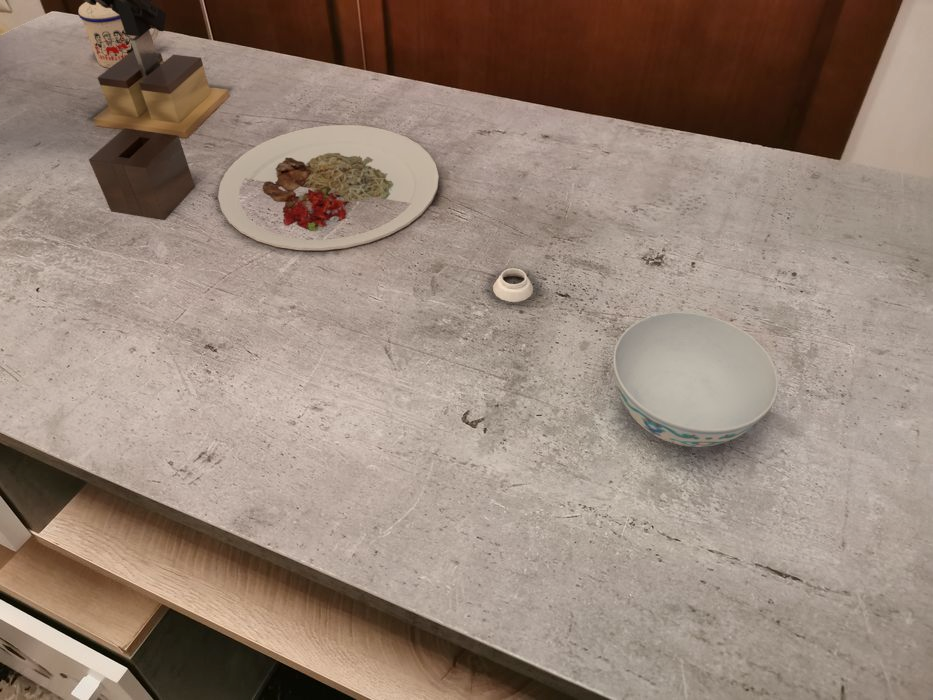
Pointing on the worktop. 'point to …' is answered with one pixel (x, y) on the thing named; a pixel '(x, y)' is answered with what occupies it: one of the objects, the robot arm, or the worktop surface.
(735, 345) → the chinaware
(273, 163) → the plated food
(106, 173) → the knife block
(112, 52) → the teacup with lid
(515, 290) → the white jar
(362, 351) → the worktop surface
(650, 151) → the worktop surface
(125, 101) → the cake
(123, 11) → the cake knife
